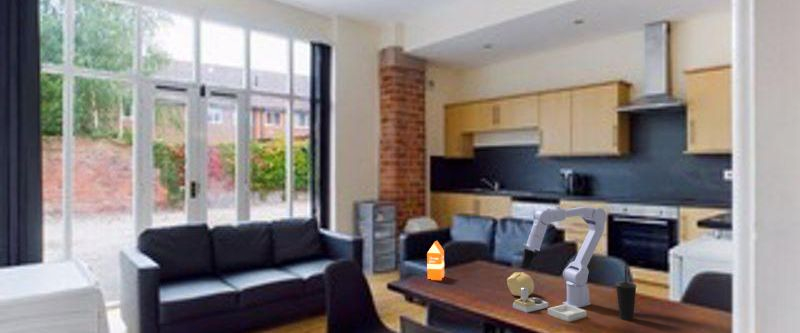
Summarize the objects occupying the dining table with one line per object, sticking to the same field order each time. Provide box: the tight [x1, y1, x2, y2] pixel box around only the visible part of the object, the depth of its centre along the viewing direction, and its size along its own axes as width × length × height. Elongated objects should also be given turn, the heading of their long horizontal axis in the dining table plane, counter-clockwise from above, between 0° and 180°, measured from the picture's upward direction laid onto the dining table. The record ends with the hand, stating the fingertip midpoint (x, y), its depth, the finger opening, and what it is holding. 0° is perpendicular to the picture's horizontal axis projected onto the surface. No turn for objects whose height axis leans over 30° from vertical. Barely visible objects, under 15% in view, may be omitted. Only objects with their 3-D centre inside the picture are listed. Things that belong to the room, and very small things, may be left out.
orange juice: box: [426, 240, 445, 281], centre depth 257 cm, size 8×9×20 cm
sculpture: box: [506, 271, 535, 297], centre depth 222 cm, size 12×12×11 cm
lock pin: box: [520, 287, 529, 303], centre depth 201 cm, size 3×3×7 cm
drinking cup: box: [614, 267, 637, 321], centre depth 187 cm, size 8×8×20 cm
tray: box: [547, 303, 587, 323], centre depth 191 cm, size 11×11×3 cm
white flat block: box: [512, 296, 549, 313], centre depth 203 cm, size 13×8×4 cm, turn 120°
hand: (525, 267), depth 199 cm, fingers open, 7 cm apart
